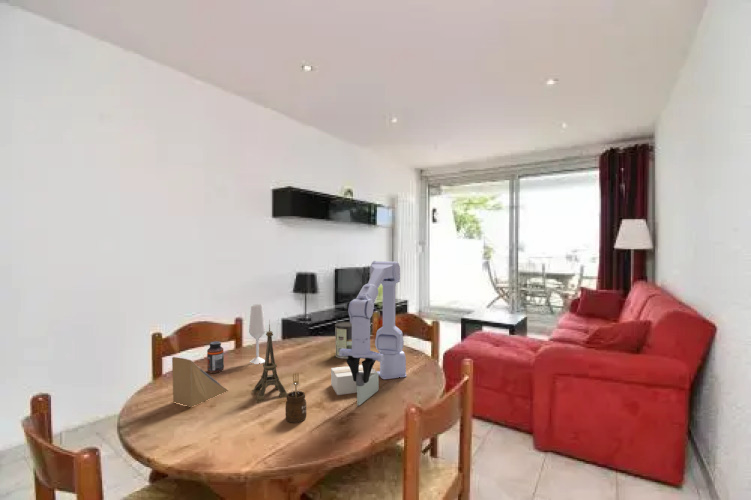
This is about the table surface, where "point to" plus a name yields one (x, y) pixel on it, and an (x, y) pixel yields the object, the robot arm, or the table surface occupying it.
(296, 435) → the table surface
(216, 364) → the supplement bottle
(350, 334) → the coffee can
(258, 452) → the table surface
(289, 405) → the utensil holder
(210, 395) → the sandwich container
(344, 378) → the carton
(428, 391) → the table surface
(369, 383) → the flap
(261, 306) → the champagne flute
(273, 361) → the eiffel tower
